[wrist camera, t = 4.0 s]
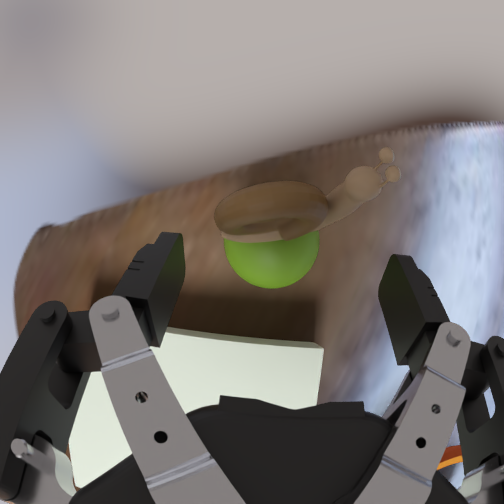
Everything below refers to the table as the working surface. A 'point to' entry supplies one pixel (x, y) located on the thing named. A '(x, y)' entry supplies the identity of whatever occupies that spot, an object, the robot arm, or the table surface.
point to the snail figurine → (290, 222)
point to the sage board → (198, 387)
